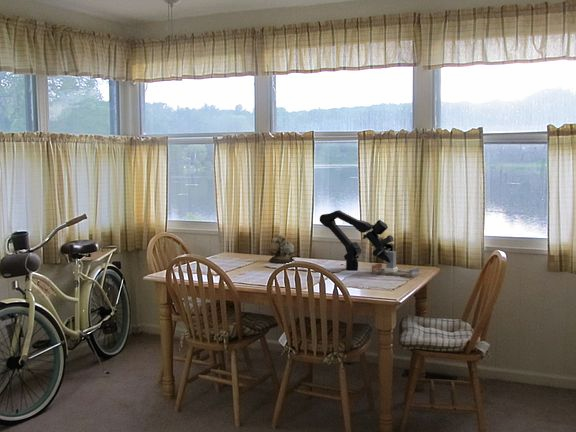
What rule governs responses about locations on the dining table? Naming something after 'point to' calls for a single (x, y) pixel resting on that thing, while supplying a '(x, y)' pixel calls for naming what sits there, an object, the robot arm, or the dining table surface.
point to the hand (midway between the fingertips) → (393, 261)
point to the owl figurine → (281, 250)
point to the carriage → (392, 265)
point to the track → (411, 273)
